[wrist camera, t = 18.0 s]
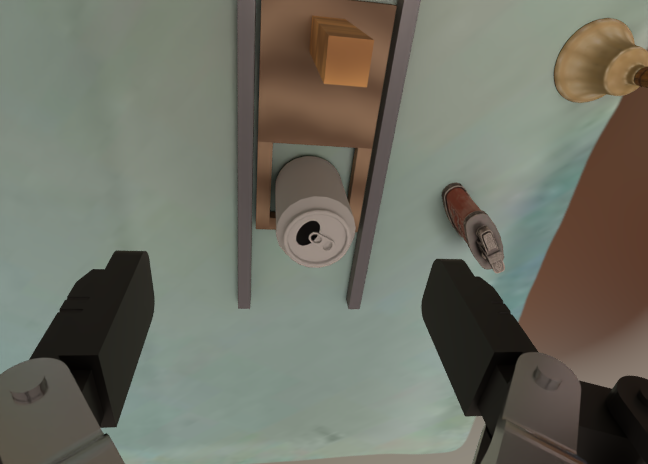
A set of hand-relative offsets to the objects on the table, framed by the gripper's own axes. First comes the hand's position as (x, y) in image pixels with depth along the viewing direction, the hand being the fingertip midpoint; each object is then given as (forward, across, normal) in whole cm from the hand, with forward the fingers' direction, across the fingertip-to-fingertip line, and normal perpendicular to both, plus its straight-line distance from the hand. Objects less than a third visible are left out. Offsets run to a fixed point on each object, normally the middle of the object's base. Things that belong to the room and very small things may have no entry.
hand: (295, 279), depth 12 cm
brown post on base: (+34, -4, +6) cm, 35 cm away
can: (+34, -4, +13) cm, 37 cm away
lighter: (+34, -23, +16) cm, 44 cm away
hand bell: (+34, -33, -2) cm, 48 cm away
